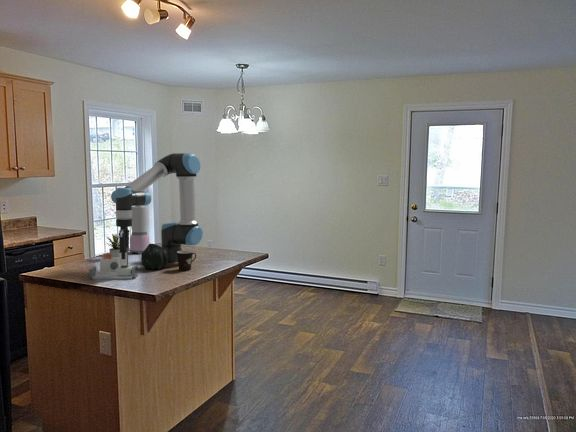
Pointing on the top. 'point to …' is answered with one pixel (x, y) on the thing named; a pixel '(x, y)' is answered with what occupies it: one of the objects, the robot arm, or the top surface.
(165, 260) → the squash
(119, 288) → the top surface
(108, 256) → the button
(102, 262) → the gauge cabinet
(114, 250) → the house plant
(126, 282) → the top surface
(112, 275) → the rail base
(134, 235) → the blender
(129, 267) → the carriage
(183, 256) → the coffee mug
